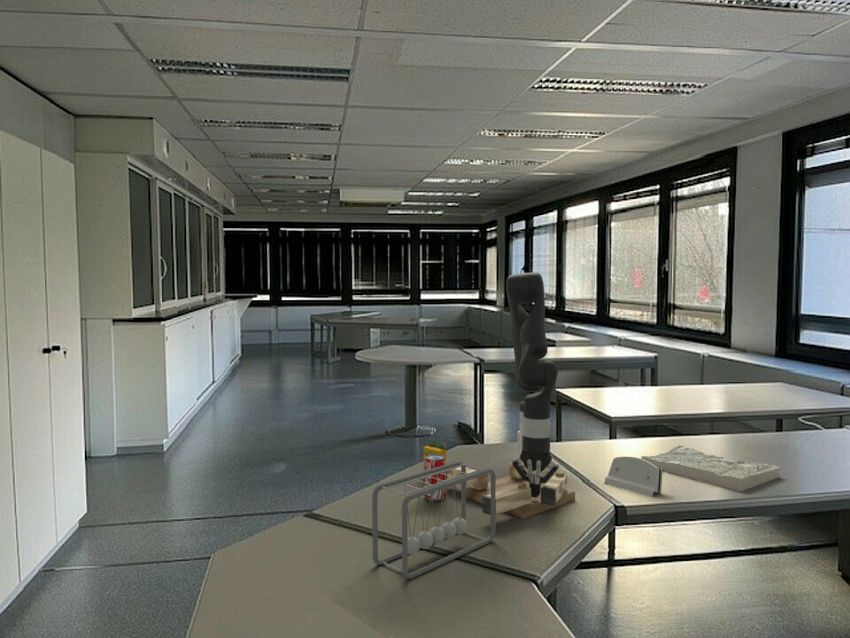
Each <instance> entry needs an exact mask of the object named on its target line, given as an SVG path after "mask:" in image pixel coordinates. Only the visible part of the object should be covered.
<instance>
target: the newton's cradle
mask: <svg viewBox="0 0 850 638" xmlns="http://www.w3.org/2000/svg"><path fill="white" fill-rule="evenodd" d="M459 467H461V476H458V477H455V478H453V477H454V476H453V473H452V479H448V480H445V481H443V480H442V477H441V482H439V483H436V484H433V485H432V484H430V486H427V487H424V486H423V487H422V488H419V487H417V486H419V482H421V483H425V482H424V481H422V480H424V478H426V477H429V482H430V476H433V475H436V474H439V473H440V475H441V473H442V472H446V471H449V470H451V471H452V469H455V468H459ZM466 467H467V468H470V469H474V470H476V471H473V472H470V473H466ZM454 471H456V470H454ZM458 472H459V471H458ZM442 474H443V473H442ZM486 474H488V475H490V481H491V515H490V534H489V535H488V537H487V538H486V537H485V538H484V537H482V536H479V535H476V534H473V533H471V532H468V531H467V529H468V522H467V520H466V519H467V515H466V514H467V510H466V509H467V503H466V502H467V498H466V488H467V486H466V481H468V480H471V479H474V478H477V477H480V476H483V475H486ZM445 475H447V474H445ZM449 476H450V475H449ZM460 477H461V478H460ZM432 478H433V477H432ZM457 478H458V479H457ZM435 479H436V478H435ZM454 479H455V480H454ZM438 480H440V479H438ZM451 480H452V481H451ZM496 480H497V478H496V472H495V470H494V469H492V468H486V469H485V468H481V467H477V466H474V465H470V464H466V463H464V462H463V461H461V460H457V461H455V462H452V463H448V464H447V463H446V465H443V466H440V467H437V468H433V469H430V470H427V471H424V470H423V471H421V472H416V473H414V474H410V475H407V476H403V477H401V478H397V479H393V480H390V481H385V482H384V483H380V484H378V485H377V486H376V487H375V488H374V489H373V492H372V495H371V508H372V509H371V512H372V513H371V515H372V518H371V520H372V521H371V525H372V528H371V529H372V533H371V534H372V538H371V539H372V560H373V563H374V564H375V565H378V566H381V565H385V566H387V567H389V568H391V569H394V570H396V571H398V572H400V573H402V575H403V577H404V578H405V579H406V580H407V579H408V580H411V579H414V578H417V577H418V576H420V575H423V574H425V573H427V572H429V571H431V570H434V569H436V568H438V567H441V566H443V565H444V564H446V563H448V562H451V561H453V560H455V559H457V558H459V557H462V556H465V555H467V554H468V553H471V552H473V551H475V550H477V549H479V548H481V547H484V546H486V545H488V544H490V543H492V542H493V540H494V538H495V536H496V516H495V509H496ZM413 482H416V484H417V486H416V487H415V486H414V485H413V486H412V485H409V484H410V483H413ZM445 482H446V483H445ZM442 483H443V484H442ZM459 483H461V484H459ZM427 484H429V483H427ZM439 484H440V485H439ZM403 485H404V486H409V487H413V488H415V489H414V490H412V491H409V492H407V490H406V487H404V492H405V493H404V492H400V491H398V490H394V489H393V488H396V487H400V486H403ZM456 485H460V486H461V491H460V492H461V494H460V496H461V497H460V498H461V499H460V502H461V503H460V505H461V506H460V508H461V509H460V516H459V512H458V511H459V510H458V504H457V496H456V494H455V493H456ZM450 487H453V493H452V494H453V495H452V499H455V506H456V513H457V517H456V518H454V519H453V520H452V522H451V519H452V510H453V506H454V505H453V504H454V500H452V503H451V508H450V515H449V521H448V520H446V522H443V524H442V525H441V526H439V525H440V518H441V512H442V505H443V502H444V510H445V512H447V509H446V507H447V506H446V500H445V499H446V498H445V497H444V488H446V489H447V488H450ZM441 489H443V495H442V500H440V501H441V502H440V510H439V515H438V522H437V523H438V524H437V523H436V517H435V516H436V515H435V508H434V501H433V499H432V501H431V499H430V500H429V506H428V507H429V508H428V514H427V521H426V529H425V527H424V525H425V524H424V520H423V517H421V521H422V528H423V531H421V532H419V533H418V534H417V537H415V536H414V534H415V529H416V527H415V526H416V522H417V516H418V509H419V508H418V507H420V516H423V511H422V504H421V502H420V501H421V497H423V496H424V495H427V494H430V493H431V497H432V493H433V492H436V491H438V490H441ZM381 490H386V491H388V492H389V491H390V492H393V493H394V494H395V493H396V494H399V495H401V496H404V499H403V501H402V505H401V550H400V551H398V552H395V553H393V554H390V555H389V556H385V557H384V558H380V559H379V543H378V542H379V536H378V533H379V531H378V522H379V521H378V518H379V517H378V494H379V493H380V491H381ZM424 497H425V496H424ZM443 497H444V499H443ZM417 498H418V499H417ZM414 499H417V505H416V512H415V518H414V525H413V531H412V534H411V525H410V517H409V514H408V513H409V509H408V505H409V503H410V501H412V500H414ZM431 505H432V510H433V517H434V525H435V526H433V527H432V528H430V529H429V531H428V524H429V517H430V510H431ZM445 517H446V519H448V515H447V513H445ZM408 528H409V536H408ZM462 534H466V535H468V536H472V537H475V538H478V539H481V541H478V542H476V543H474V544H471V545H470V546H467V547H465V548H462V549H460V550H458V551H456V552H454V553H451V554H450V555H447V556H445V557H442V558H441V559H439V560H435V561H434V562H431V563H428V565H425V566H423V567H421V568H418V569H415V570H414V571H411V572H409V571H408V565H409V564H408V562H409V561H408V555H410V556H411V555H412V556H413V555H415V554H417V553H418V552H419V551H420V550H421V549H422V550H424V549H425V550H426V549H430V548H431V547H432V546H433V544H435V545H438V544H441V543H443V542H444V541H445V540H451V539H453V538H454V537H455V536H456V535H462ZM399 558H401V568H402V569H400V568H398V567H396V566H393V565H391V564H389V562H391V561H394V560H397V559H399Z"/></svg>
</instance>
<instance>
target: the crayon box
mask: <svg viewBox="0 0 850 638" xmlns="http://www.w3.org/2000/svg"><path fill="white" fill-rule="evenodd" d="M428 444H429V445H426V446H423V462H424V461H425V459H426V456H428V455H442V456H444V458H445V461H446V462H447V443H445V442H441V441H438V440H431V439H429V443H428ZM437 444H438V445H437Z"/></svg>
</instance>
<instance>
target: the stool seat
mask: <svg viewBox="0 0 850 638" xmlns="http://www.w3.org/2000/svg"><path fill="white" fill-rule="evenodd" d="M522 466H523V468H524V469H525V471H526V472H527V473H528V469H527V468H526V467H525V465H524V464H523V462H522ZM549 467H550V464H549V465H548V466H547V467H546V468H545V469H544V470H543V472H542V473H545V472H549V470H550V469H549ZM454 470H456V471H454ZM476 470H477V469H474V468H471V467H467V466H466V473H470V472H473V471H476ZM458 471H459V472H458ZM452 473H453V476H454V477H453V478H455V477H458V476H461V467H459V468H455V469H452V471H451V470H449V471H446V474H447V475H446V480H448V479H452ZM449 475H450V476H449ZM535 475H536V471H535ZM460 478H461V477H460ZM457 479H458V478H457ZM454 480H455V479H454ZM488 480H489V474H486V475H483V476H480V477H477V478H474V479H471V480H468V481H466V499H469V500H471V501H475V502H477V503H480V504H482V507H481V508H482V513H483V514H486V515H489V516H491V480H490V481H488ZM451 481H452V480H451ZM546 483H547V482H546ZM546 483H541V487H543V486H544V485H545V484H546ZM458 485H461V483H459V484H458ZM574 501H576V491H574V490H572V489H569V488H567V490H566V491H565V493H564V494H563V495H562V496H561V498H560V499H559V500H558V501H557V503H556V505H555V506H553V505H546V504H541V493H540V495H539V496H538V497H537V498H535V497H531V488H529V482H528V481H526V480H523V479H522V477H521V476H520V474H519V473H518V472H517V470H516V469H515V467H514V466H513V464H512V462H511V463H509V475H507V476H505V477H500V478H496V509H495V517H496V516H497V515H499V514H501V513H502V514H503V513H506V514H510V515H512V516H516V517H518V518H520V519H526V518H529V517H531V516H535V515H538V514H541V513H543V512H546V511H548V510H552V509H554V508H556V507H560V506H562V505H565V504H568V503H570V502H574Z"/></svg>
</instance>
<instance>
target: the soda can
mask: <svg viewBox="0 0 850 638" xmlns="http://www.w3.org/2000/svg"><path fill="white" fill-rule="evenodd" d="M443 465H447V460H446V461H445V458H444V456H442V455H428V456H426V459H425V461H424V460H423V471H427V470H430V469H433V468H437V467H440V466H443ZM442 473H443V474H442ZM442 473H441V475H440V473H439V474H436V475H433V476H430V482H429V477H426V478H423V480H424V481H423V483H424V482H425V483H424V485H423V488H424V487H427V486H430V484H432V485H433V484H436V483H439V482H441V477H442V480H443V481H445V480H446V475H445V474H446V472H442ZM432 477H433V478H432ZM435 478H436V479H435ZM438 479H440V480H438ZM427 483H429V484H427ZM445 483H446V482H445ZM442 484H443V483H442ZM439 485H440V484H439ZM442 495H443V489H441V490H438V491H436V492H433V493H432V497H431V493H430V494H427V495H424V497H425V498H426V499H427V500H428V501H430V499H431V502H432V499H433V502H439V501H443V500H444V499H445V498H446V497H447V488H444V497H443V499H442Z"/></svg>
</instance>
